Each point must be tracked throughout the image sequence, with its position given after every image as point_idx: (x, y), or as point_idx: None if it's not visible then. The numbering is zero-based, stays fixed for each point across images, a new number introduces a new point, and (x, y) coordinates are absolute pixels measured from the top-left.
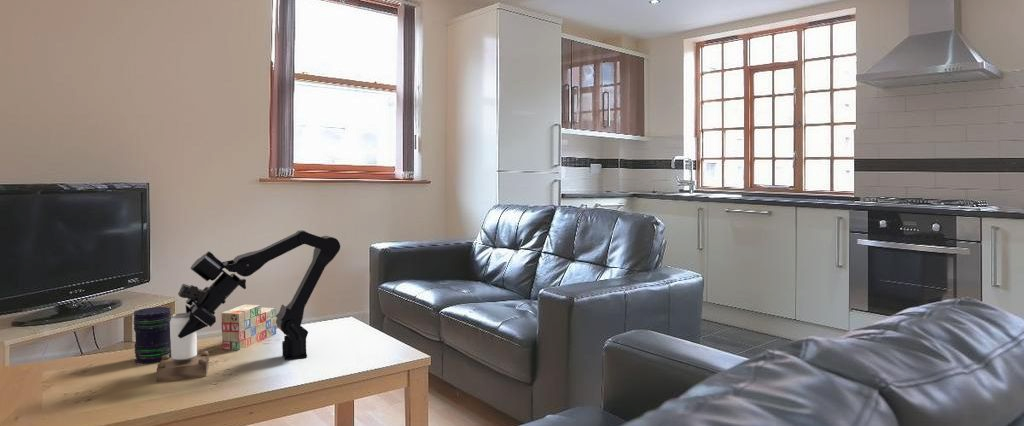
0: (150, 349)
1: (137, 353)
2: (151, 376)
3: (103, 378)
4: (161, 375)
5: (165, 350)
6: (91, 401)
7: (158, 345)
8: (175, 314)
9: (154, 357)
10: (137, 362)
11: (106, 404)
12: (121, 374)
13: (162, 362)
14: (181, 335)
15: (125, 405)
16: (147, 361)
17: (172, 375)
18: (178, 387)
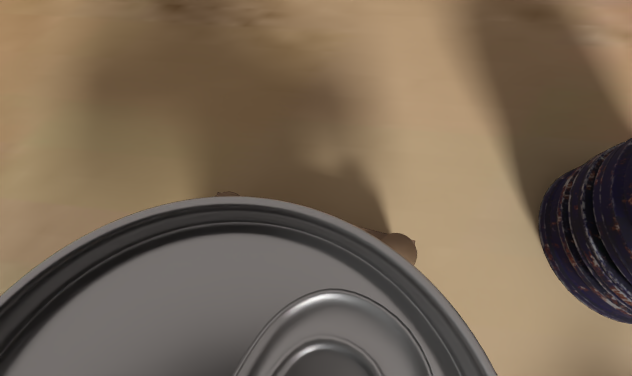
0: (596, 197)
1: (604, 151)
2: (328, 199)
3: (404, 53)
4: None
5: (610, 281)
6: (145, 10)
7: (620, 235)
8: (447, 325)
9: (561, 227)
10: (574, 169)
11: (72, 41)
12: (426, 106)
13: None
14: None
15: (6, 85)
16: (551, 202)
17: None
18: None
